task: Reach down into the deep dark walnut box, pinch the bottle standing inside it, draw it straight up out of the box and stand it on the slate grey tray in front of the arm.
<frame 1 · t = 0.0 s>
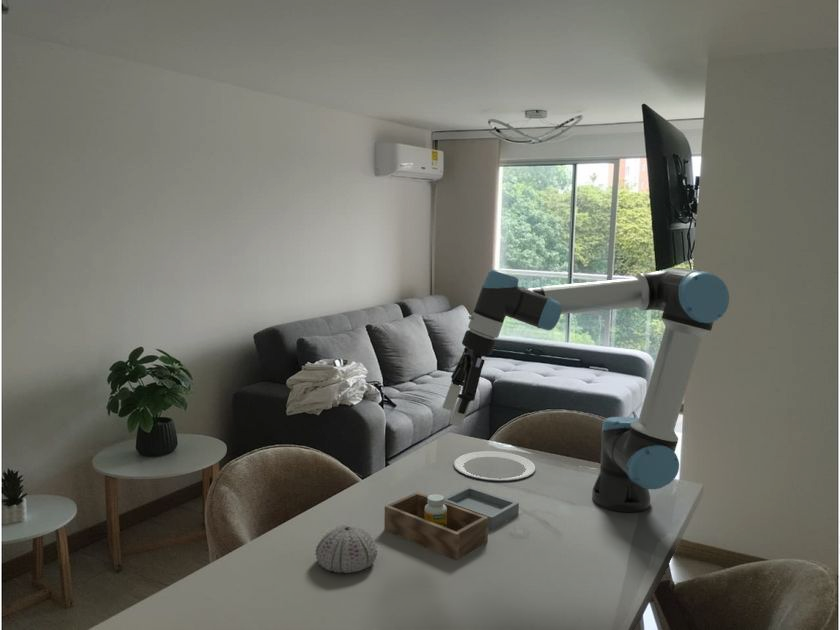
hand: (451, 417, 162), 28 cm above the table, tool tilted 20°, fingers open, 13 cm apart
plate: (494, 468, 207), on the table
sea urchin shell: (347, 564, 148), on the table
supplement bottle: (435, 536, 161), resting in walnut box
walnut box: (435, 535, 161), on the table
slate tray: (479, 512, 174), on the table
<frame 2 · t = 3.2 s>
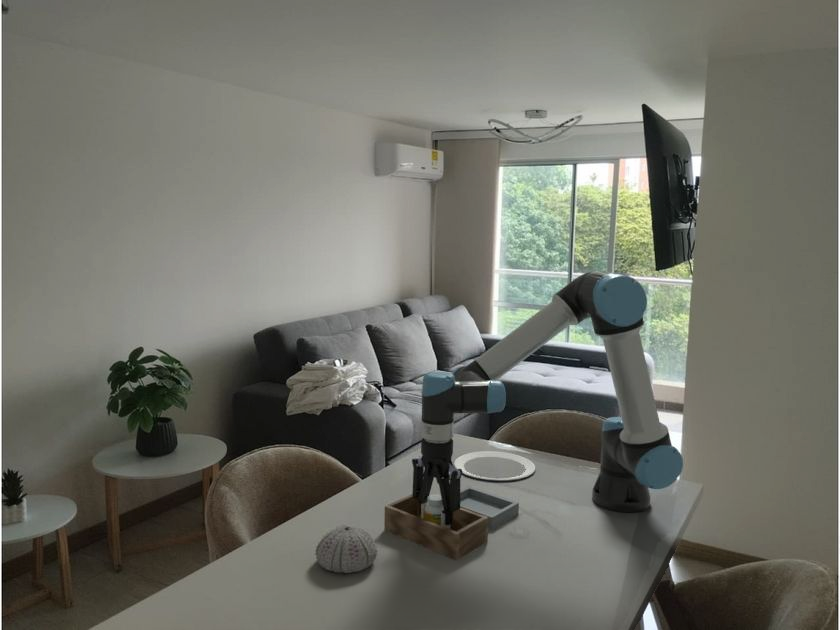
hand: (435, 532, 161), 1 cm above the table, tool pointing down, fingers closed on supplement bottle, 5 cm apart
supplement bottle: (435, 536, 161), resting in walnut box, touching gripper
everything else where it was.
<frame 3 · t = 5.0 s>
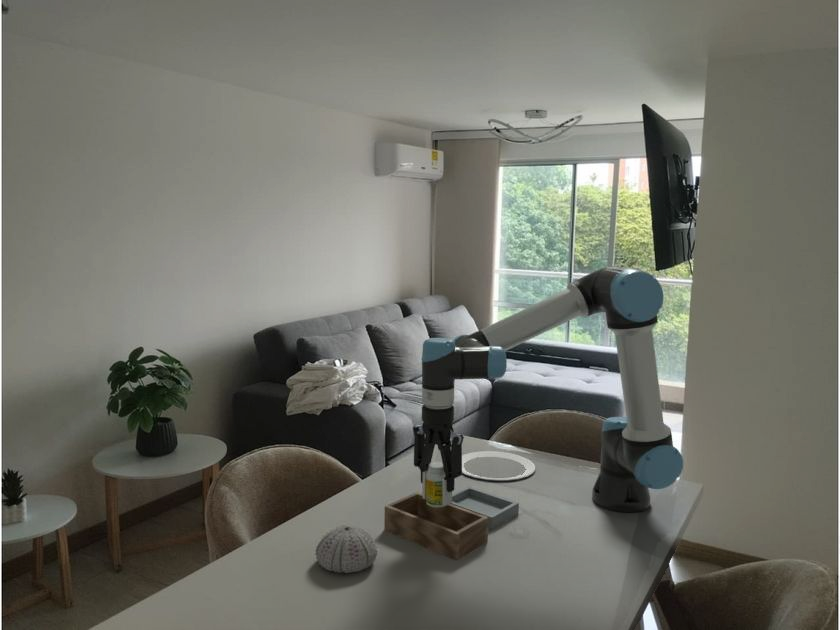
hand: (437, 500, 160), 9 cm above the table, tool pointing down, fingers closed on supplement bottle, 5 cm apart
supplement bottle: (437, 504, 160), point 8 cm above the table, touching gripper
everything else where it was.
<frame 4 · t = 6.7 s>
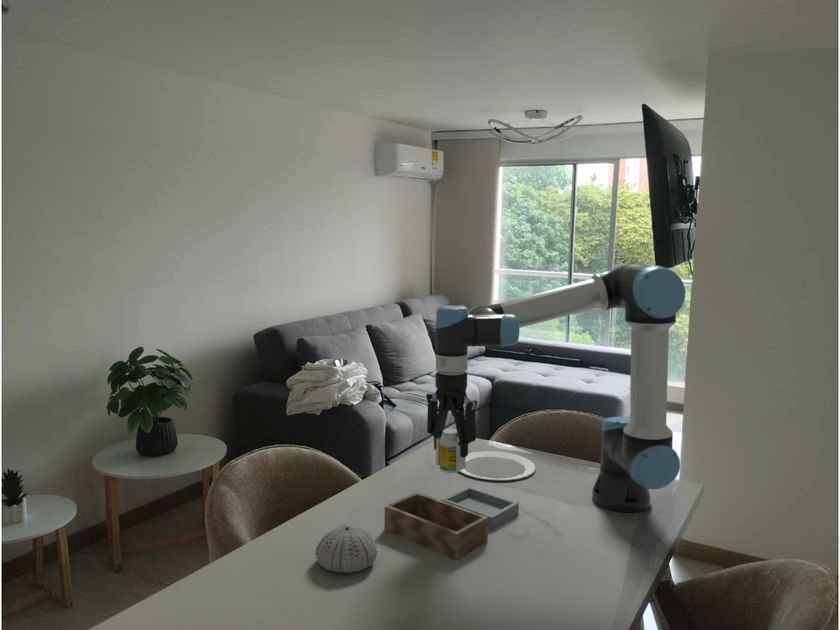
hand: (450, 466, 162), 16 cm above the table, tool pointing down, fingers closed on supplement bottle, 5 cm apart
supplement bottle: (450, 470, 162), point 15 cm above the table, touching gripper
everything else where it was.
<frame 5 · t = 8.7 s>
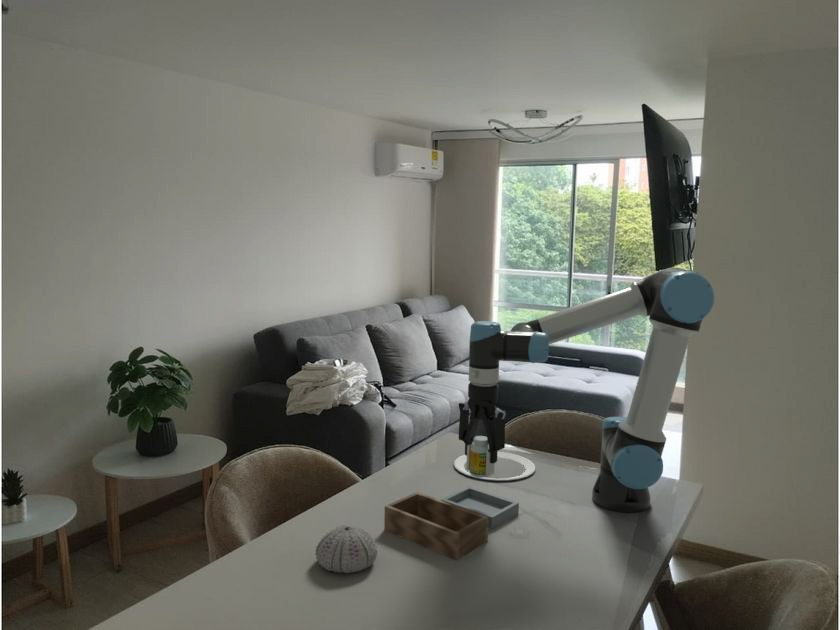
hand: (480, 471, 173), 11 cm above the table, tool pointing down, fingers closed on supplement bottle, 5 cm apart
supplement bottle: (480, 474, 173), point 10 cm above the table, touching gripper
everything else where it was.
when the fingers open (4 cm above the table, at t = 10.2 s): supplement bottle drops 2 cm, resting on slate tray.
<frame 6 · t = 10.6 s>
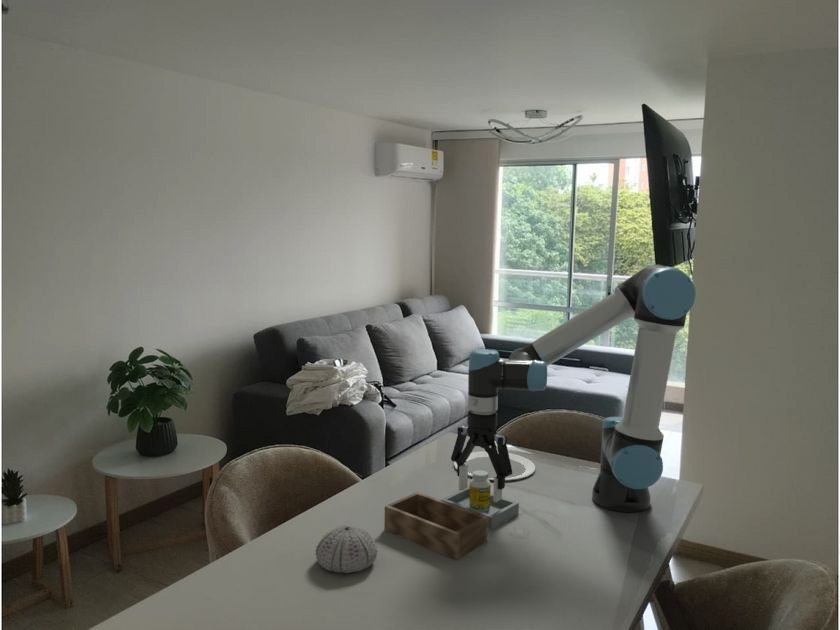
hand: (480, 494, 174), 5 cm above the table, tool pointing down, fingers open, 10 cm apart
supplement bottle: (479, 509, 174), point 1 cm above the table, touching slate tray
everything else where it was.
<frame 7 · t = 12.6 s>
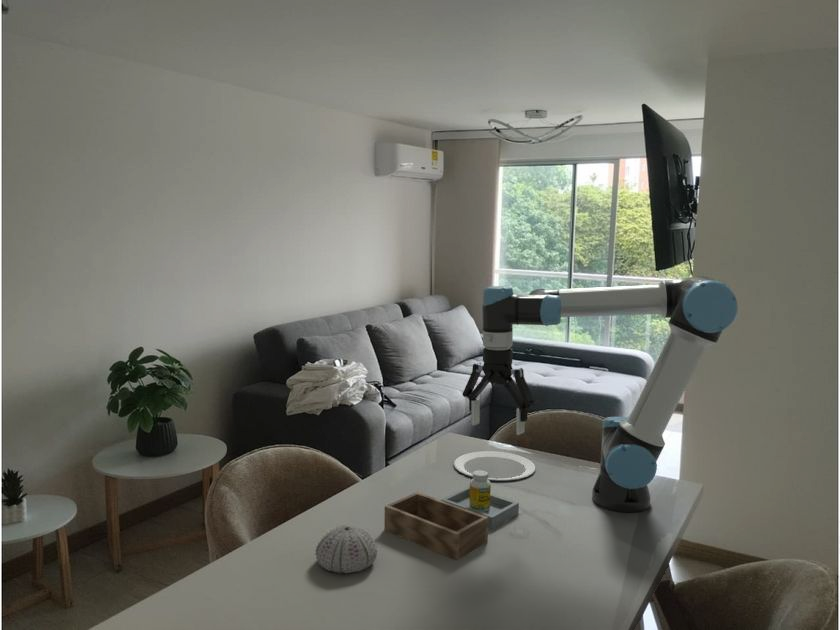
hand: (497, 428, 174), 22 cm above the table, tool pointing down, fingers open, 13 cm apart
nothing on the table moved.
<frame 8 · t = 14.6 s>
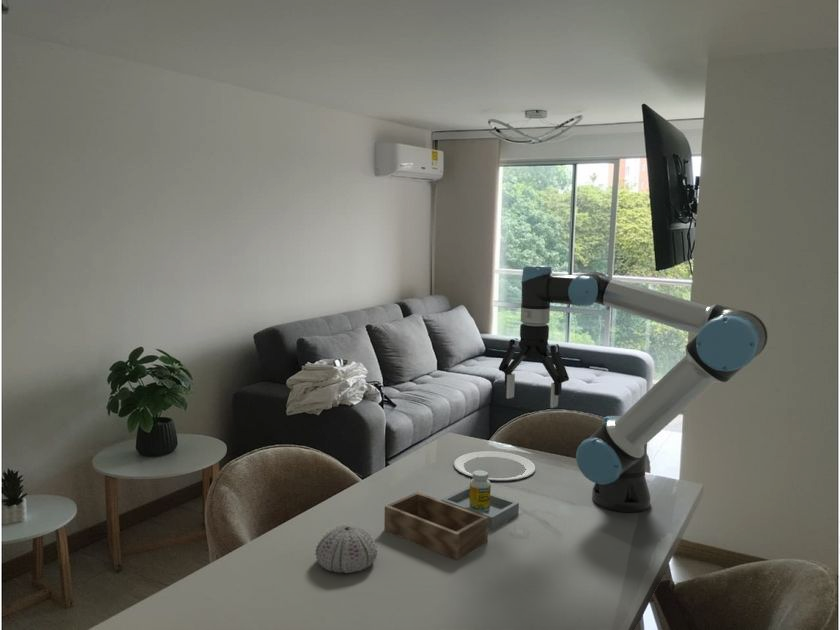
hand: (531, 402, 181), 27 cm above the table, tool pointing down, fingers open, 13 cm apart
nothing on the table moved.
at the end: supplement bottle inside the target area on the slate tray (0.0 cm from its centre), point 0.8 cm above the slate tray's base; supplement bottle tilted 0°; the gripper is holding nothing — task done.
